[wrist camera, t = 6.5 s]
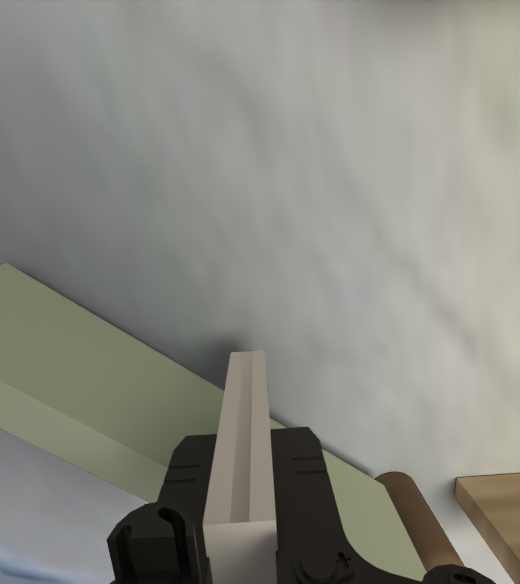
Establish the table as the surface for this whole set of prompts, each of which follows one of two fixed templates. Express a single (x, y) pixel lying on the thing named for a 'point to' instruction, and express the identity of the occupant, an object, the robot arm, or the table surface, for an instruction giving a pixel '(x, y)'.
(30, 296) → the gate
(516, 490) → the wooden u-shaped enclosure
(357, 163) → the table surface
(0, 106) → the table surface
